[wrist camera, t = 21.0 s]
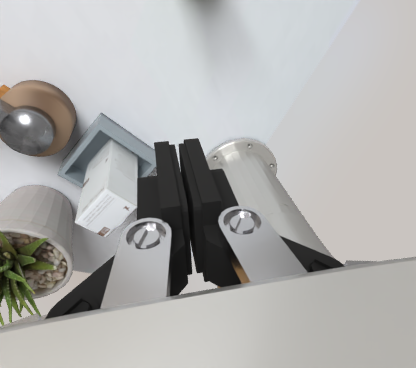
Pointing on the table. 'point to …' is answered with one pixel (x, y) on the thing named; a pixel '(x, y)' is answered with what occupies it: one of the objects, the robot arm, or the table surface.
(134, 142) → the tray
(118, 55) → the table surface
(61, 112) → the crank pedestal
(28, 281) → the potted plant
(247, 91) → the table surface
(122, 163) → the skincare box
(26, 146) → the crank
